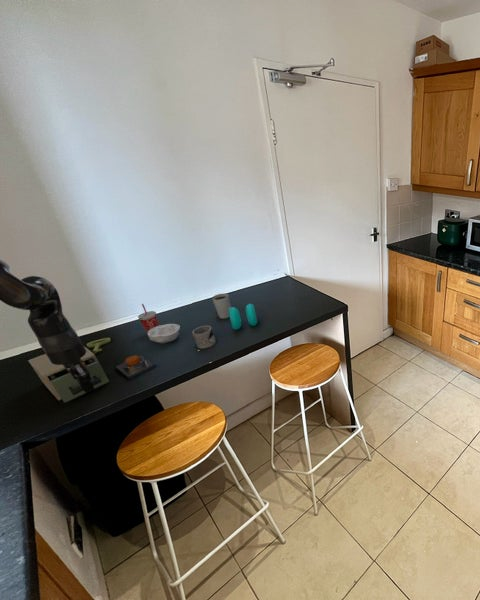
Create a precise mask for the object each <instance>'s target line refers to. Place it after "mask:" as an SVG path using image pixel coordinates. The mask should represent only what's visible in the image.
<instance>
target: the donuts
mask: <svg viewBox="0 0 480 600" xmlns="http://www.w3.org/2000/svg"><path fill="white" fill-rule="evenodd" d="M245 313H246V318H247V321H248V322H247V323H248V324H249V325H250V326H253V327H255V326H257V325H258V324H259V323H258V322H259V321H258V317H257V312H256V307H255V305H254V304H253V303H248V304H247V305H246V306H245ZM229 316H230V317H229V321H230V324H231V327H232V329H234V330H240V329H241V327H242V318H241V313H240V310H239V309H237V308H236V307H234V306H231V308H230V309H229Z"/></svg>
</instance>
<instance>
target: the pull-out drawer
mask: <svg viewBox="0 0 480 600" xmlns="http://www.w3.org/2000/svg"><path fill="white" fill-rule="evenodd" d="M84 362H85V364H86V368H87V370H88V371H89V374H90V377H91V381H90V382H91V383H92V385H93V387H94V389H93V390H95V389H97V388H99V387H102V386H103V385H105V384H108V383H110V380H109V378H108V376H107V374H106V373H105V371H104V369H103V367H102V365H101V364H100V362H99V360H98V361H96V362H94V361H92V360H91V359H88V360H85V361H84ZM47 377H48V378H49V380H50V382H51V383H52V385H53V387H54V388H55V390H56V391H57V393H58V394H59V396H60V397H61V400H62V401H63V403H68V402H70V401H72V400H74V399H76V398H78V397H80V396H82V395H85V394H87V393H86V392H85V391H84V390H83V389H82V387H81V386H80V384H79V383H78V382H77V381H76V379H74V378H73V377H72V376H71V375H70V374H69V372H68V371H67V370H66V369H64V370H61V371H59V372H57V373H54V374H52V375H49V376H47Z"/></svg>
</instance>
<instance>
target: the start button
mask: <svg viewBox="0 0 480 600" xmlns="http://www.w3.org/2000/svg"><path fill="white" fill-rule="evenodd" d="M138 356H139V355H131V356H129V357H127V358H126V359H125V361H126V363H127V365H129V366H130V365H134V364H136V363H138V362H139V361H140V360H139V358H138ZM125 361H124V362H125Z"/></svg>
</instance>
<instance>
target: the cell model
mask: <svg viewBox="0 0 480 600" xmlns="http://www.w3.org/2000/svg"><path fill="white" fill-rule="evenodd" d="M180 327H181V326H180V324H176V323H166V324H161V325H160V324H159V326H157V327H154V328H152V329H151V330H149V331H148V333H147V336H148V339H149V340H150V341H152V342H154V343H155V342H156V343H158V344H166V343H170V342H173V341H175V340H176V339H178V336H179V334H180Z"/></svg>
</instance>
